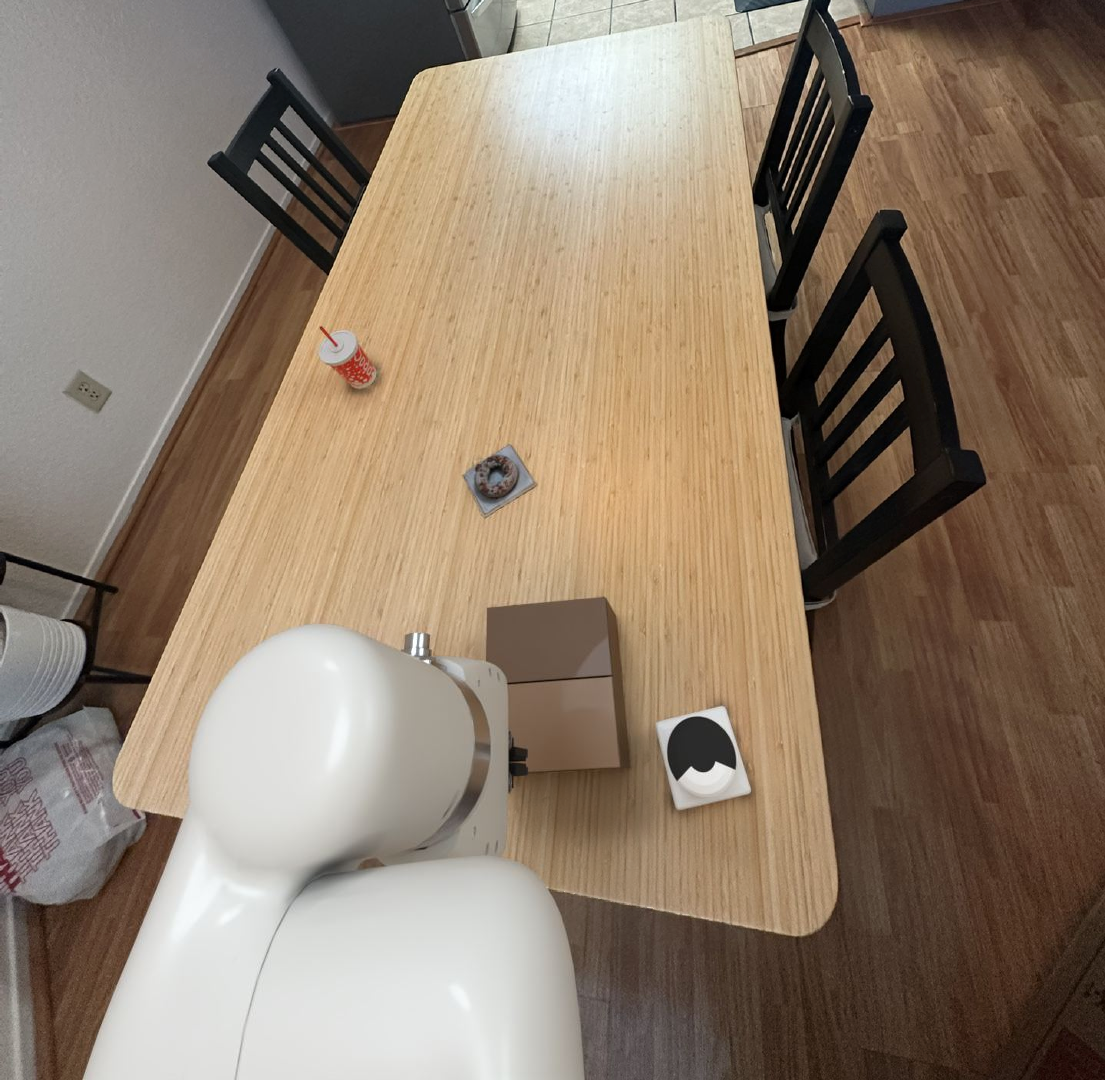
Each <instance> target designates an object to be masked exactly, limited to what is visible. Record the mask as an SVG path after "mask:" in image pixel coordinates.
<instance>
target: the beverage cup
mask: <svg viewBox="0 0 1105 1080" xmlns="http://www.w3.org/2000/svg"><path fill="white" fill-rule="evenodd" d="M318 329H319V330H320V331H321V332H322V333H323V334H324V335H325V338H324V339H323V340H322V342H321V343H320V344H319V347H318V357H319V360H321V362H323V363H324V364H325V365H326V366H329V367H331V368H332V369H333V371H335V372H336V373H337V374H338V375H339V376H340V377H342V378H343V380H344V381H346V382H347V383H348V384H349V385H350V386H351V387H353V388H354V389H357V390H362V389H366V388H369V386H370V385H372V384H373V383H374V382H375V380H376V378H377V370H376V367H375V366H374V365H373V363H372V361H371V360H370V359H369V357H368V356H367V354H366V352H365V351H364V349H363V348H362V347H361V345H360V343H359V340H358V338H357V337H356V334H355V333H353V332H352V331H350V330H347V329H346V330H345V329H341V330H337V331H333V332H332V333H330V334H329V332H328V331H327V330H326V329H325V328H324V327H323V325H321V326H319V328H318Z"/></svg>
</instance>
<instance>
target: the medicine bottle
mask: <svg viewBox="0 0 1105 1080" xmlns="http://www.w3.org/2000/svg"><path fill="white" fill-rule="evenodd" d="M654 727H655V731H656V735H657V739H658V743H659V747H660V752H661V755H662V759H663V764H664V768H665V772H666V776H667V780H668V785H669V787H670V791H671V795H672V799H673V803H674V807H675V809H676V810H677V811H682V810H688V809H691V808H696V807H699V806H704V805H708V804H712V803H717V802H720V801H721V802H722V801H725V800H729V799H734V798H737V797H742V796H746V795H749V794H750V793H751V792H752V788H751V785H750V781H749V778H748V775H747V772H746V769H745V765H744V763H743V759H742V755H741V753H740V749H739V746H738V743H737V740H736V736H735V733H734V730H733V727H732V724H731V721H730V717H729V713H728V711H727V708H726V707H725V706H724V705H719V706H715V707H712V708H707V709H703V710H698V711H694V712H691V713H687V714H682V715H678V716H674V717H671V718H666V719H662V720H657V721H656V722H655V724H654Z"/></svg>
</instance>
